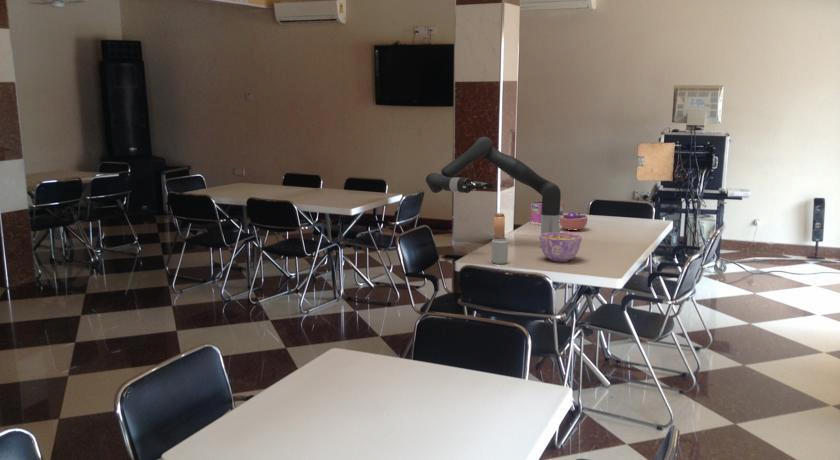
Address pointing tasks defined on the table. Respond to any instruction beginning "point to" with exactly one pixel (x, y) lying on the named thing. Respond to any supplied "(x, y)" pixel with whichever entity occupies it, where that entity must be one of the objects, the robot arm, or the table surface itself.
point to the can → (499, 250)
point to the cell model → (573, 221)
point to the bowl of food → (560, 245)
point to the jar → (499, 225)
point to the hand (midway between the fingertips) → (488, 187)
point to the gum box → (537, 209)
